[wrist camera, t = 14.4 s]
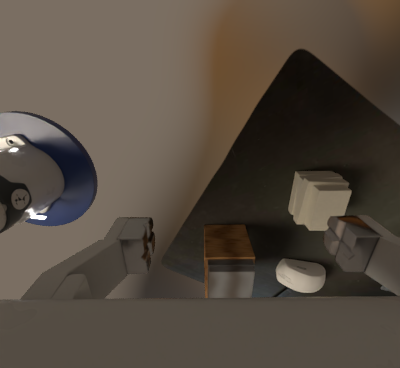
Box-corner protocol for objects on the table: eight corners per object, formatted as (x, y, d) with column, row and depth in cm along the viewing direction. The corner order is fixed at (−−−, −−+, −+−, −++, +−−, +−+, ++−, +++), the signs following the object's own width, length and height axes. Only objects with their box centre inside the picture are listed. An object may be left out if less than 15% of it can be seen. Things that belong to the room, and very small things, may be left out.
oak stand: (204, 261, 57) (205, 311, 44) (204, 224, 52) (205, 269, 39) (241, 261, 57) (253, 311, 44) (244, 224, 52) (259, 268, 39)
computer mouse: (280, 256, 56) (289, 275, 51) (325, 263, 57) (339, 283, 52) (272, 273, 59) (279, 293, 53) (315, 280, 60) (327, 300, 54)
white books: (285, 211, 50) (296, 226, 45) (293, 170, 46) (306, 181, 41) (323, 210, 50) (338, 225, 45) (334, 169, 46) (352, 180, 41)
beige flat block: (303, 223, 45) (309, 230, 42) (312, 185, 41) (319, 190, 39) (332, 223, 45) (339, 230, 42) (343, 184, 41) (352, 190, 39)
